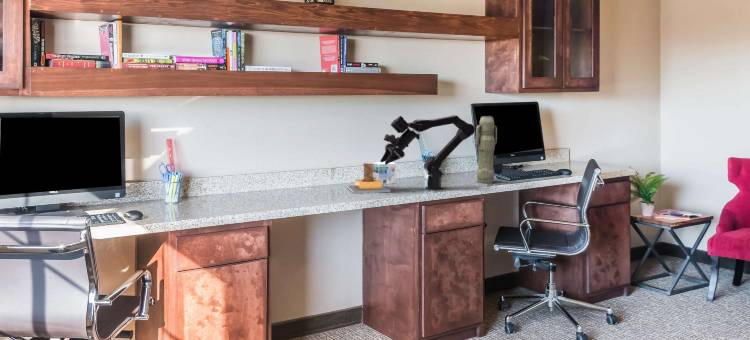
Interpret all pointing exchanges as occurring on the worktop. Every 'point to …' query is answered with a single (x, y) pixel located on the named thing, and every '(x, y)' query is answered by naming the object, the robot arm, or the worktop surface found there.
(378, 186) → the square socket
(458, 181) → the worktop surface
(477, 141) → the stone statue
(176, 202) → the worktop surface
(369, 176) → the tan square block
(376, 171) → the light bulb box
